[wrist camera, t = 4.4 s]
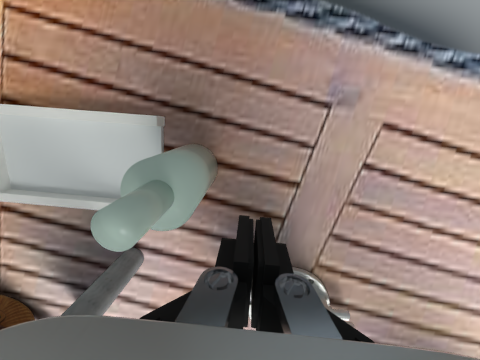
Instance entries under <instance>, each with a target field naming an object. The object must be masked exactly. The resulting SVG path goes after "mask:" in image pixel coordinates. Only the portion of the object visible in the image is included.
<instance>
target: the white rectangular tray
mask: <svg viewBox="0 0 480 360" xmlns="http://www.w3.org/2000/svg"><path fill="white" fill-rule="evenodd" d="M163 126H165V116H152V115H139V114H126V113H113V112H100V111H87V110H74V109H61V108H48V107H35V106H22V105H9V104H0V201H3V202H14V203H24V204H35V205H46V206H57V207H68V208H79V209H89V210H100V209H102V208H104V207H105V206H107V205H109V204H111V203H112V202H114V201H116V200H118V199H119V198H121V193H120V187H121V182H122V179H123V176H124V174H125V173H126V171H127V170H128V169H129V168H130V167H131V166H132V165H133V164H135V163H136V162H138V161H141V160H143V159H146V158H149V157H152V156H155V155H158V154H161V153H164V133H163Z"/></svg>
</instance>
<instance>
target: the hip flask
mask: <svg viewBox="0 0 480 360" xmlns="http://www.w3.org/2000/svg"><path fill="white" fill-rule="evenodd" d="M143 261H144V256H143V254H142V252H141V251H140V250H138V249H136V248H130V249H129V250H126V251H125V252H124V253H123V254H122V255H121V256H120V257H119V258H118V259H117V260H116V261H115V262H114V263H113V264H112V265H111V266H110V267H109V268H108V269H107V270H106V271H105V272H104V273H103V274H102V275H101V276H100V277H99V278H98V279H97V280H96V281H95V282H94V283H93V284H92V285H91V286H90V287H89V288H88V289H87V290H86V291H85V292H84V293H83V294H82V295H81V296H80V297H79V298H78V299H77V300H76V301H75V302H74V303H73V304H72V305H71V306H70V307H69V308H68V309H67V310H66V311H65V312H64V313H63V314H62V315H61V316H67V315H94V316H102V315H103V314H104V313H105V312H106V310H107V309H108V308H109V306H110V305H111V304H112V303H113V301H114V300H115V299H116V297H117V296H118V295H119V294H120V292H121V291H122V290H123V288H124V287H125V286H126V285H127V283H128V282H129V281H130V279H131V278H132V277H133V276H134V274H135V273H136V272H137V270H138V269H139V267H140V266H141V264H142V263H143Z"/></svg>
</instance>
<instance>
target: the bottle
mask: <svg viewBox="0 0 480 360" xmlns="http://www.w3.org/2000/svg"><path fill="white" fill-rule="evenodd" d="M217 172H218V165H217V161H216V158H215V156H214V155H213V153H212V152H211V151H210V150H209V149H207V148H206V147H204V146H202V145H199V144H188V145H184V146H181V147H178V148H175V149H173V150H170V151H167V152H164V153H161V154H158V155H155V156H152V157H149V158H146V159H143V160H141V161H138V162H136V163H135V164H133V165H132V166H131V167H130V168H129V169H128V170H127V171H126V173H125V174H124V176H123V179H122V182H121V187H120V193H121V198H119V199H118V200H116V201H114V202H112V203H111V204H109V205H107V206H105V207H104V208H102V209H100V210H99V211H97V212H96V213H95V214H94V216H93V217H92V220H91V232H92V234H93V237H94V238H95V240H96V241H97V242H98V243H99V244H100V245H101V246H103V247H104V248H106V249H108V250H111V251H115V252H122V251H126V250H129V249H130V248H132V247H133V246H134V245H135V244H136V243H137V242H138V241H139V240H140V239H141V238H142V237H143V236H144V235H145V233H146V232H147V231H148V230H149V229H152V230H157V231H168V230H173V229H176V228H178V227H180V226H181V225H183V224H184V223H185V222H186V221H187V220H188V219H189V218H190V217H191V215H192V214H193V212H194V211H195V209H196V208H197V206H198V205H199V203H200V201H201V200H202V198H203V197H204V195H205V194H206V192H207V191H208V189H209V188H210V186H211V185H212V183H213V182H214V180H215V178H216V176H217Z"/></svg>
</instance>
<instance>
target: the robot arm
mask: <svg viewBox="0 0 480 360" xmlns="http://www.w3.org/2000/svg"><path fill="white" fill-rule="evenodd" d="M248 316H249V318H250V320H251V328H256V331H254V330H245V329H243V327H247V325H248ZM343 320H348V321H349V320H350V314H349V311H348V310H346V309H332V307H331V306H330V300H329V295H328V293H327V291H326V288H325V287H324V285H323V283H322V282H321V281H320V280H319V279H318V278H317V277H316V276H315V275H313V274H312V273H310V272H308V271H306V270H304V269H300V268H296V267H292V265H291V261H290V258H289V254H288V250H287V247H286V244H282V243H276V242H275V237H274V232H273V226H272V221H271V218H264V217H260V220H256V227H255V236H253V219H249V216H242V215H239V222H238V230H237V238H236V239H228V238H222V241H221V245H220V249H219V253H218V257H217V261H216V265H215V267H212V268H209V269H207V270H205V271H204V272H203V273H202V274H201V276H200V277H199V279H198V281H197V283H196V285H195V286H194V288H193V290H192V291H190V292H188V293H187V294H185V295H183V296H181V297H179V298H177V299H175V300H173V301H171V302H169V303H167V304H165V305H164V306H162V307H160V308H158V309H156V310H154V311H152V312H150V313H148V314H146V315H144V316H143V317H141V318H140V319H135V318H125V317H110V316H94V315H67V316H58V317H49V318H43V319H38V320H34V321H29V322H24V323H20V324H17V325H14V326H10V327H7V328H5V329H2V330H0V360H480V359H478V358H473V357H469V356H464V355H460V354H455V353H449V352H442V351H435V350H428V349H421V348H414V347H405V346H395V345H386V344H377V343H374V342H373V341H372V340H371V339H369V338H368V337H366V336H365V335H364V334H362V333H361V332H359V331H358V330H356V329H355V326H354V324H353V323H352V322H345V321H343Z"/></svg>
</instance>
